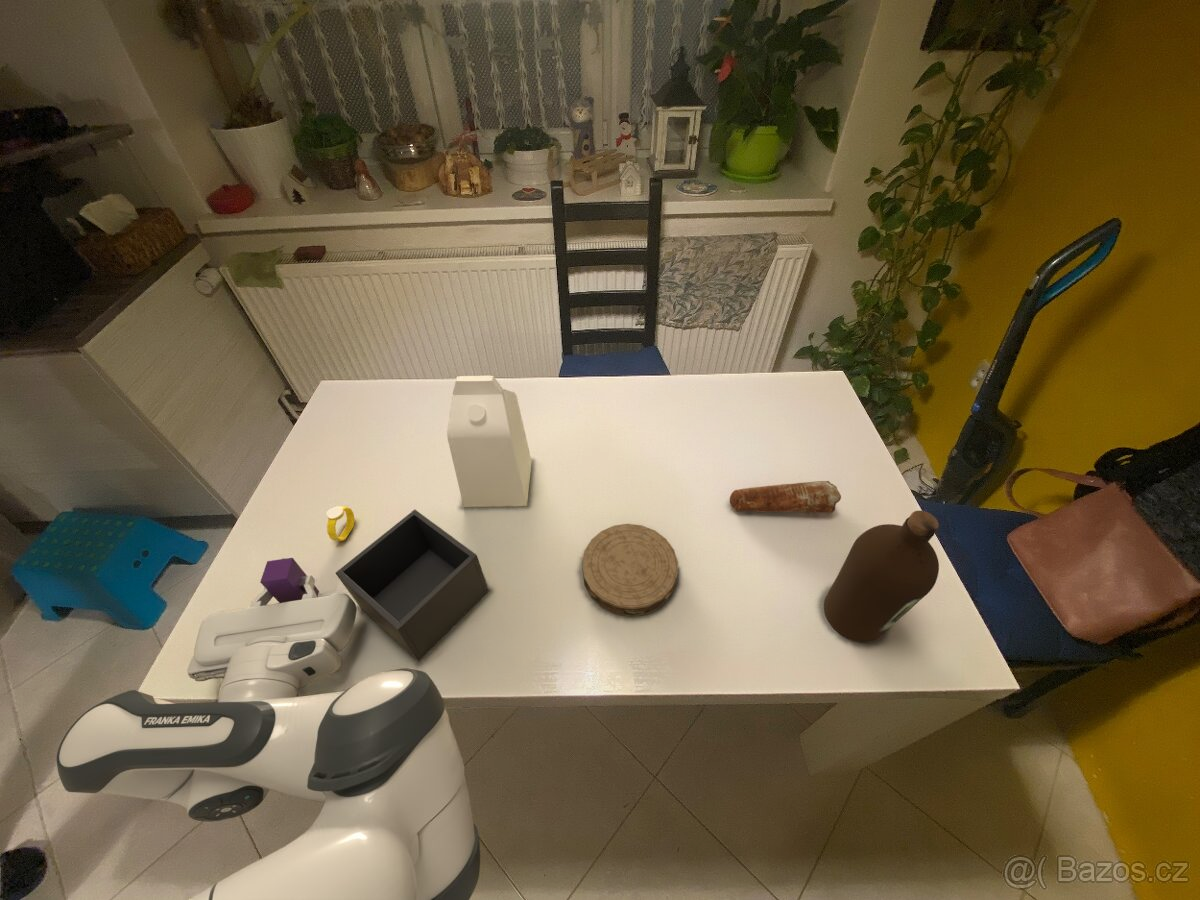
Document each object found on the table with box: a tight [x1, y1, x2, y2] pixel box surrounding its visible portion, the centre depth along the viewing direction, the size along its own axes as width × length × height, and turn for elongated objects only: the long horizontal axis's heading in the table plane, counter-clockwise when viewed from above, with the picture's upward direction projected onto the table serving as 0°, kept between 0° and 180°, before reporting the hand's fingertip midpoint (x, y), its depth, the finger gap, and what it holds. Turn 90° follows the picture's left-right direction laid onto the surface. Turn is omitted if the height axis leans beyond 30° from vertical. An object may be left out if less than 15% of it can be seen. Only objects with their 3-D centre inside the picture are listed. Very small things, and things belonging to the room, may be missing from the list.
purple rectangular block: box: [259, 557, 320, 603], centre depth 78 cm, size 4×4×10 cm
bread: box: [729, 480, 842, 514], centre depth 94 cm, size 6×19×6 cm, turn 88°
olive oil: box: [823, 510, 940, 644], centre depth 72 cm, size 11×11×25 cm
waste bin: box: [335, 509, 490, 663], centre depth 79 cm, size 15×15×11 cm
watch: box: [325, 505, 355, 542], centre depth 90 cm, size 6×3×6 cm, turn 173°
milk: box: [446, 375, 533, 508], centre depth 91 cm, size 12×12×26 cm
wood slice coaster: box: [581, 523, 679, 618], centre depth 85 cm, size 16×16×3 cm
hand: (291, 580), depth 78 cm, fingers closed on purple rectangular block, 3 cm apart
